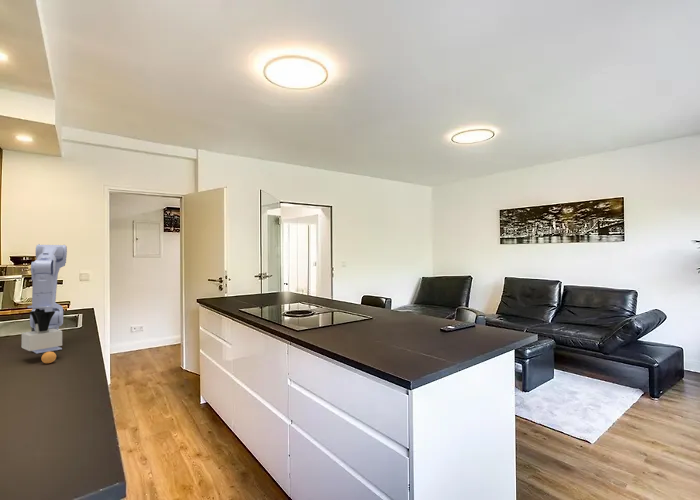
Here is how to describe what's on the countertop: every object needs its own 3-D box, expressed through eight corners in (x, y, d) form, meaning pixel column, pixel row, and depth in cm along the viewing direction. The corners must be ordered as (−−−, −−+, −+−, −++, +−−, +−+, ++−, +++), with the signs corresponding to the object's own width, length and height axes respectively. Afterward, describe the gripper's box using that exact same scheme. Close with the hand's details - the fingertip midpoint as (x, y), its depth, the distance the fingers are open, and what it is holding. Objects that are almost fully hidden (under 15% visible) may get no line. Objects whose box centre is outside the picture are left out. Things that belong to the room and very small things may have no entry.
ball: (39, 363, 124) (39, 352, 124) (53, 360, 127) (54, 349, 127) (43, 365, 122) (43, 353, 122) (57, 362, 125) (58, 351, 125)
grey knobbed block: (21, 347, 128) (21, 324, 128) (53, 342, 136) (53, 320, 136) (29, 351, 123) (29, 327, 123) (62, 345, 130) (62, 322, 131)
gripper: (22, 292, 131) (21, 330, 130) (34, 294, 122) (33, 334, 122) (46, 291, 136) (45, 327, 136) (60, 293, 128) (59, 331, 128)
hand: (41, 330), depth 129 cm, fingers closed on grey knobbed block, 3 cm apart
